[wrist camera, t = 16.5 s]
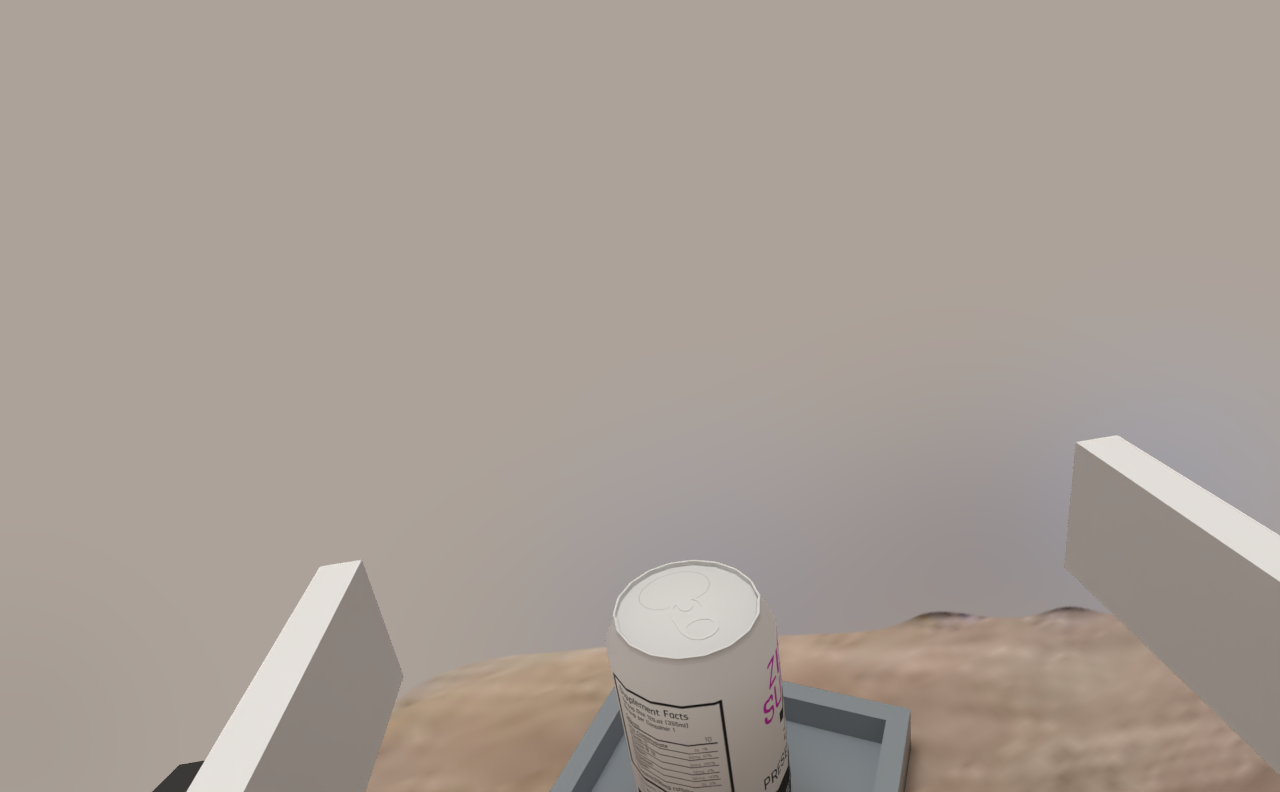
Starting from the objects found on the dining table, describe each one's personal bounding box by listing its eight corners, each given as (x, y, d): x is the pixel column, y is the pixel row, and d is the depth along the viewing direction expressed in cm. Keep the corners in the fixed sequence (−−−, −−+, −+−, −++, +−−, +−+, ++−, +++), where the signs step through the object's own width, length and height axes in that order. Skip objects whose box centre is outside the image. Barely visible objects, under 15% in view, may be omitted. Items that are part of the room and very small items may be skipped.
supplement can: (626, 794, 42) (580, 586, 36) (750, 739, 44) (725, 535, 38) (680, 929, 35) (633, 696, 29) (826, 855, 37) (808, 625, 31)
